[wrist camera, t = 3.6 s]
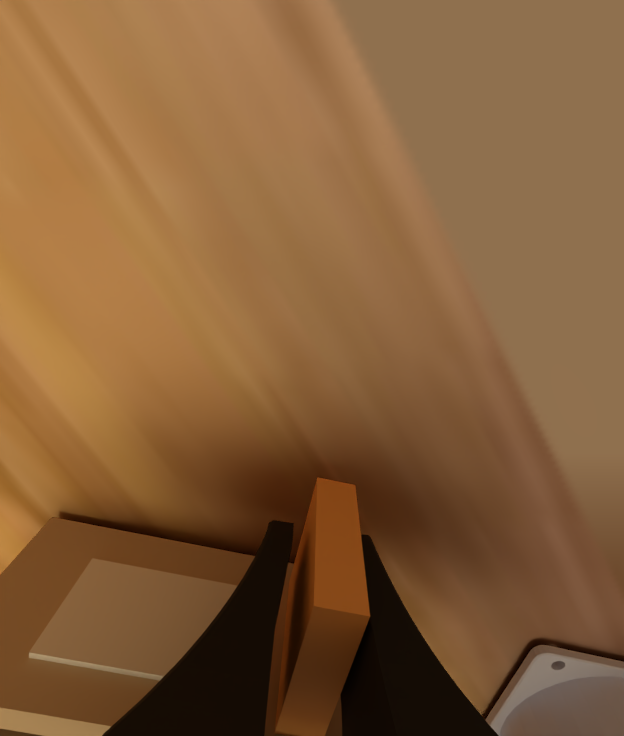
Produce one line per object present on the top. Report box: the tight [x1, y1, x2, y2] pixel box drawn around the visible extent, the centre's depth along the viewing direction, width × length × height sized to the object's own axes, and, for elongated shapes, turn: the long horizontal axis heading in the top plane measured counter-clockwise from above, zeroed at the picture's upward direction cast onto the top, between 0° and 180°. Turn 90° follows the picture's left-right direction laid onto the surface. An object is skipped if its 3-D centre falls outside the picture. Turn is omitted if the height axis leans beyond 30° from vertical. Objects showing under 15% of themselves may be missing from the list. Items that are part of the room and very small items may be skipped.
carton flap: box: [0, 477, 370, 736], centre depth 11 cm, size 11×5×6 cm, turn 77°
